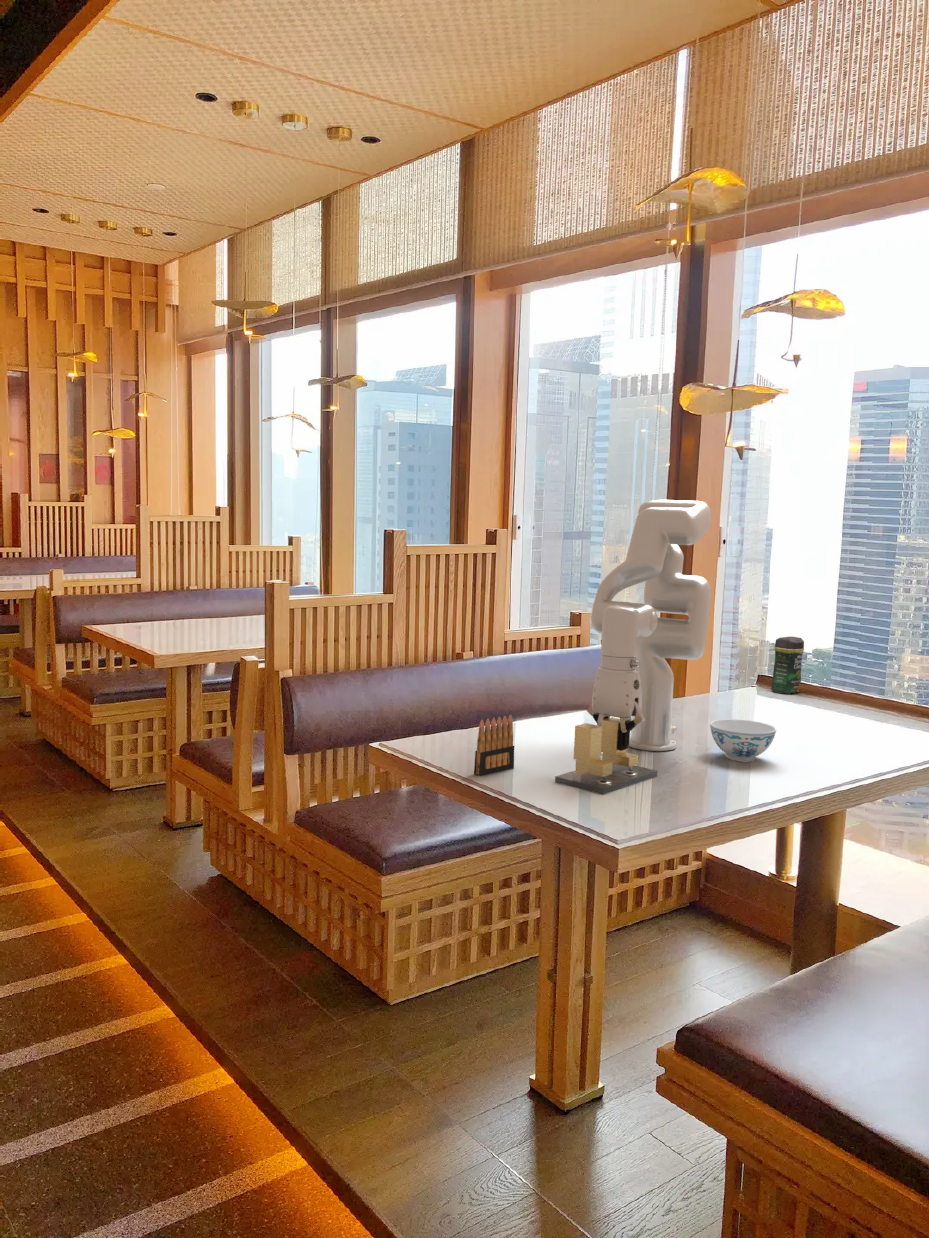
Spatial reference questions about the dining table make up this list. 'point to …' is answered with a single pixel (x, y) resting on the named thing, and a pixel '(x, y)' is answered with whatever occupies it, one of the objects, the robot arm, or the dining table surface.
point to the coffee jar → (787, 664)
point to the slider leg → (615, 745)
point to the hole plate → (612, 777)
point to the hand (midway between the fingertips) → (613, 746)
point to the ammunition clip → (494, 747)
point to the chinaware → (742, 738)
